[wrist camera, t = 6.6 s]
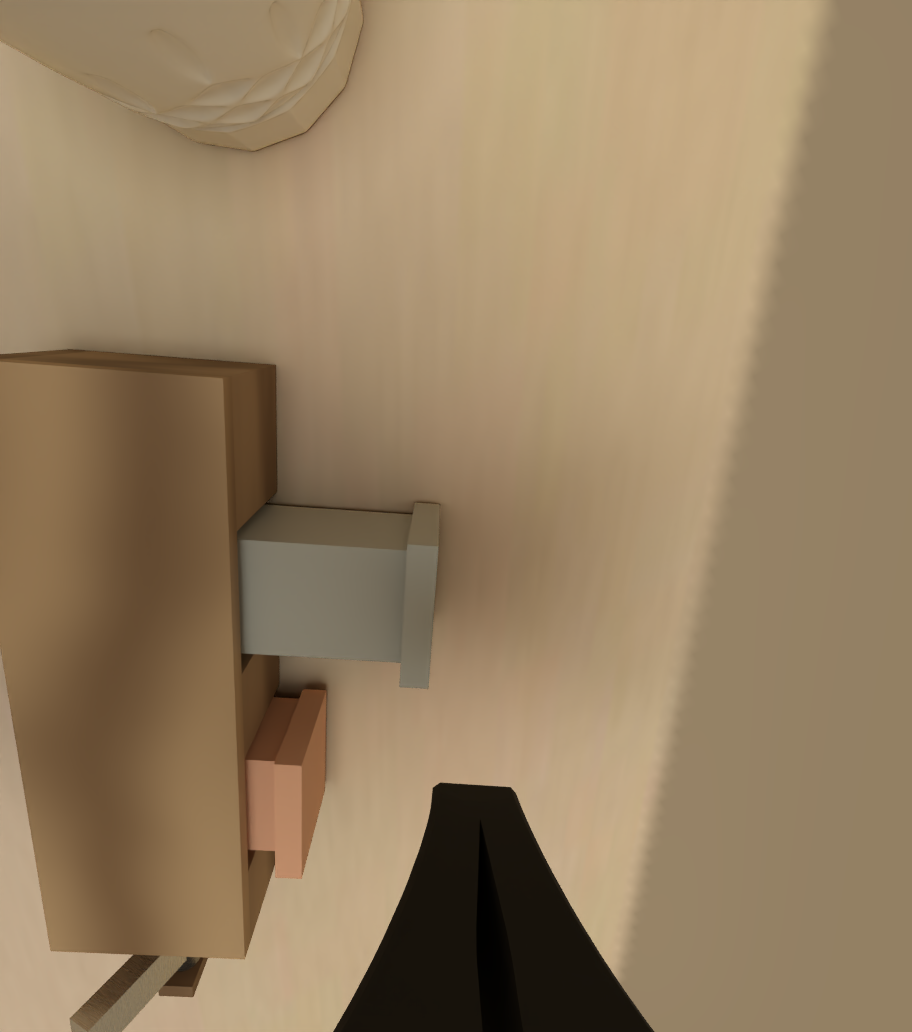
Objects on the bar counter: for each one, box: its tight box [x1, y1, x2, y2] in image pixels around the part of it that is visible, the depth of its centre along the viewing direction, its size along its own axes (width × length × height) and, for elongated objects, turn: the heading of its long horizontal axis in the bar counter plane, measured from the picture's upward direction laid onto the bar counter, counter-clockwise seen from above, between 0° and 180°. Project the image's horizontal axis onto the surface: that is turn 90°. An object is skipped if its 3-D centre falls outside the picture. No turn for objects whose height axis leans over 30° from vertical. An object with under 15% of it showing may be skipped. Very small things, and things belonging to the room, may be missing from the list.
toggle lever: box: [70, 955, 200, 1032], centre depth 21 cm, size 1×2×4 cm, turn 175°
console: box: [0, 349, 279, 997], centre depth 19 cm, size 6×22×4 cm, turn 176°
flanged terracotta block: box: [245, 689, 326, 879], centre depth 20 cm, size 7×4×4 cm, turn 86°
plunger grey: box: [237, 503, 440, 689], centre depth 18 cm, size 7×4×4 cm, turn 86°
